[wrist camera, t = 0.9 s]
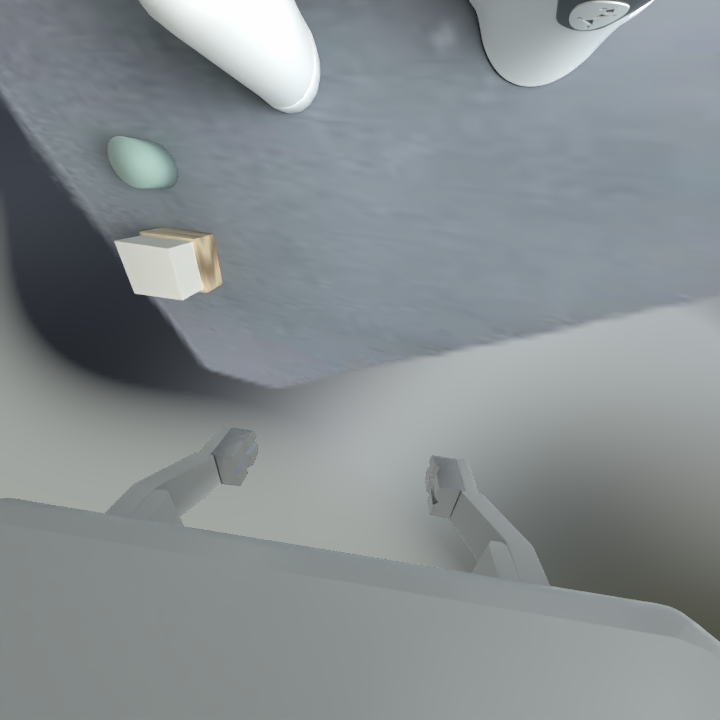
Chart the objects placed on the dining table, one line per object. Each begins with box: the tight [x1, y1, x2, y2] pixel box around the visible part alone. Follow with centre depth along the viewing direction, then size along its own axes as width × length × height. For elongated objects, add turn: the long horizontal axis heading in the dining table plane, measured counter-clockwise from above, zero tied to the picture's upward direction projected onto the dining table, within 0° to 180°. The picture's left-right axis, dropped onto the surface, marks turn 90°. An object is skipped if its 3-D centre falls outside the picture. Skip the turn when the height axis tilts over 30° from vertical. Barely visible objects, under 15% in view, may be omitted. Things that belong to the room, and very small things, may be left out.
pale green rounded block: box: [107, 136, 178, 188], centre depth 34 cm, size 5×5×5 cm
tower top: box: [114, 235, 203, 300], centre depth 37 cm, size 7×7×5 cm
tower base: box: [140, 227, 222, 293], centre depth 41 cm, size 8×8×5 cm
